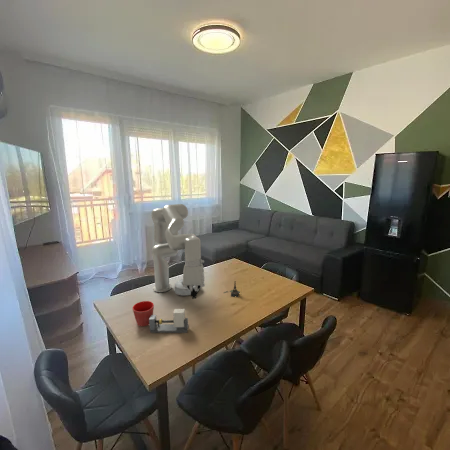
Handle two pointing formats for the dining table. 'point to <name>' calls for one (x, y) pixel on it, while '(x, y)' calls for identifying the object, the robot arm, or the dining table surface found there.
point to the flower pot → (143, 312)
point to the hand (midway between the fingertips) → (194, 297)
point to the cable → (182, 288)
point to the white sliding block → (179, 317)
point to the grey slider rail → (166, 326)
